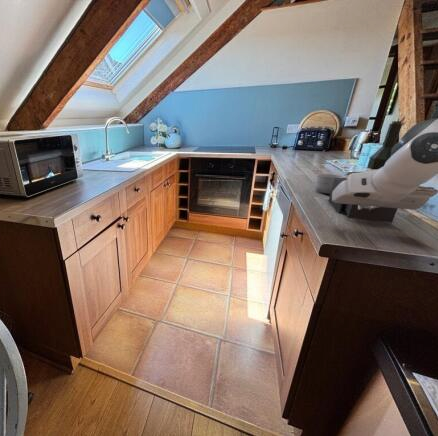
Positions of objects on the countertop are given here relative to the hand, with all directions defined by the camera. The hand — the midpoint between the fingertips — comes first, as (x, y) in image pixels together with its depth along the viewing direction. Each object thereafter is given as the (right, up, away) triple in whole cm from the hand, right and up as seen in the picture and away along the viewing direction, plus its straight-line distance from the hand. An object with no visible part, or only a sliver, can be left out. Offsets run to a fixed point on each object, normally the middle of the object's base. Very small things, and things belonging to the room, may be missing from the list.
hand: (363, 208), depth 76 cm
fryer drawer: (+7, -2, +8) cm, 10 cm away
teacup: (+15, +8, +34) cm, 38 cm away
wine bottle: (+25, +5, +26) cm, 36 cm away
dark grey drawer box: (+10, +1, +15) cm, 18 cm away
